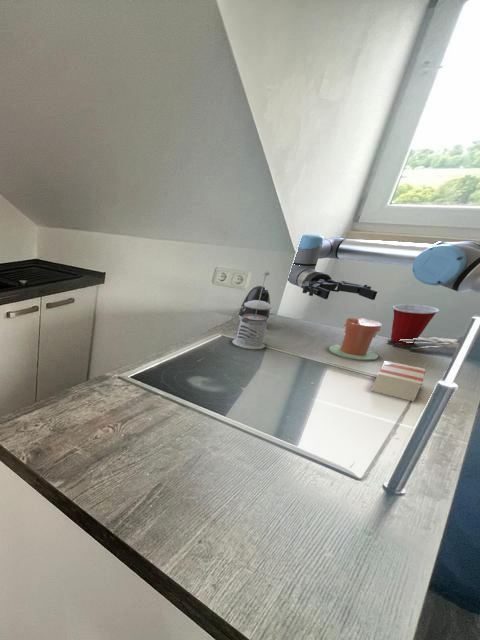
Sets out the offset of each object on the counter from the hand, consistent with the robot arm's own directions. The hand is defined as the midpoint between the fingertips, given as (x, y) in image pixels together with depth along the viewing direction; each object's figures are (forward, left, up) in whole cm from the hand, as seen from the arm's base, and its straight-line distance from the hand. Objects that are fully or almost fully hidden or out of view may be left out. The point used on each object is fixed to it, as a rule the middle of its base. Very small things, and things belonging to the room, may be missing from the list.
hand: (350, 295), depth 127 cm
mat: (-1, +10, -16) cm, 19 cm away
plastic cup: (-22, -5, -17) cm, 28 cm away
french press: (+29, +7, -17) cm, 34 cm away
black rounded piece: (+21, -15, -17) cm, 31 cm away
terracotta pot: (-1, +10, -16) cm, 19 cm away
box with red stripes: (+1, +35, -16) cm, 38 cm away
